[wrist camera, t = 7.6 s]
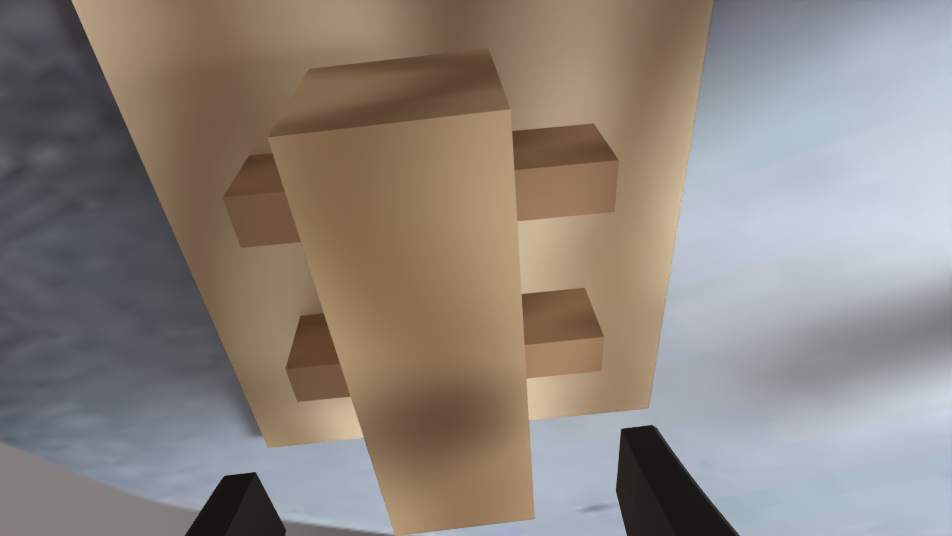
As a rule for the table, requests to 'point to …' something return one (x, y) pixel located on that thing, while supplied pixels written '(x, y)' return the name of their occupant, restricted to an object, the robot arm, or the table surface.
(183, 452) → the table surface
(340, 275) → the oak beam
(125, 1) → the rail stand
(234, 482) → the robot arm
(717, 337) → the table surface
